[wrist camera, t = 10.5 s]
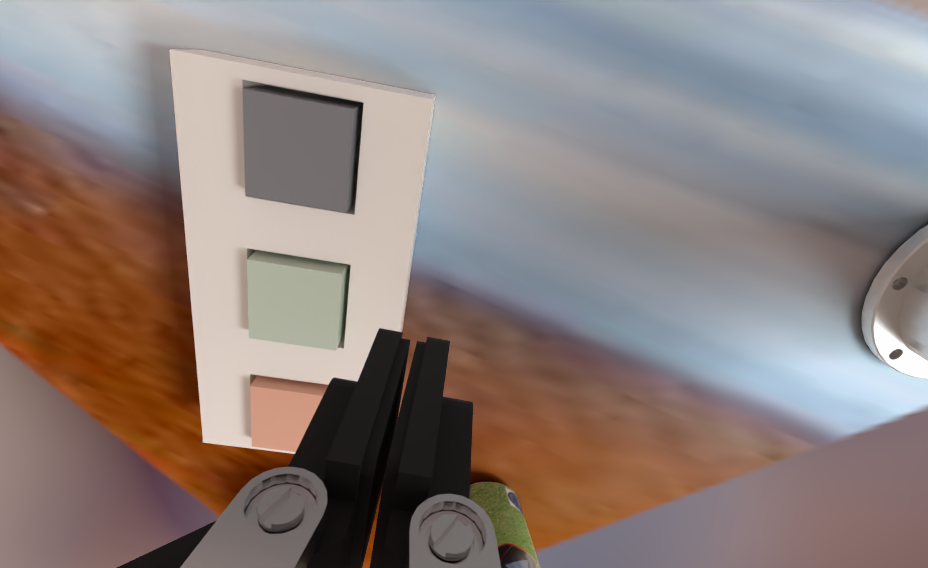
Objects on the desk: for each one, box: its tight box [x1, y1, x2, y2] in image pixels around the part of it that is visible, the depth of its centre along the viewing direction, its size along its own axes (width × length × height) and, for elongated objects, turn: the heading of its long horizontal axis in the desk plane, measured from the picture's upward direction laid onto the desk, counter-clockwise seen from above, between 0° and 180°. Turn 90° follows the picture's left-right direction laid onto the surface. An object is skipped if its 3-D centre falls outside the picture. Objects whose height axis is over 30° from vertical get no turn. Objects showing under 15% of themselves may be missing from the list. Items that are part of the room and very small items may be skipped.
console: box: [169, 49, 436, 454], centre depth 28 cm, size 12×24×3 cm, turn 170°
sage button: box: [247, 250, 351, 351], centre depth 27 cm, size 5×5×3 cm
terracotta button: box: [250, 375, 328, 452], centre depth 31 cm, size 5×5×3 cm
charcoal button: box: [242, 85, 364, 213], centre depth 24 cm, size 5×5×3 cm
